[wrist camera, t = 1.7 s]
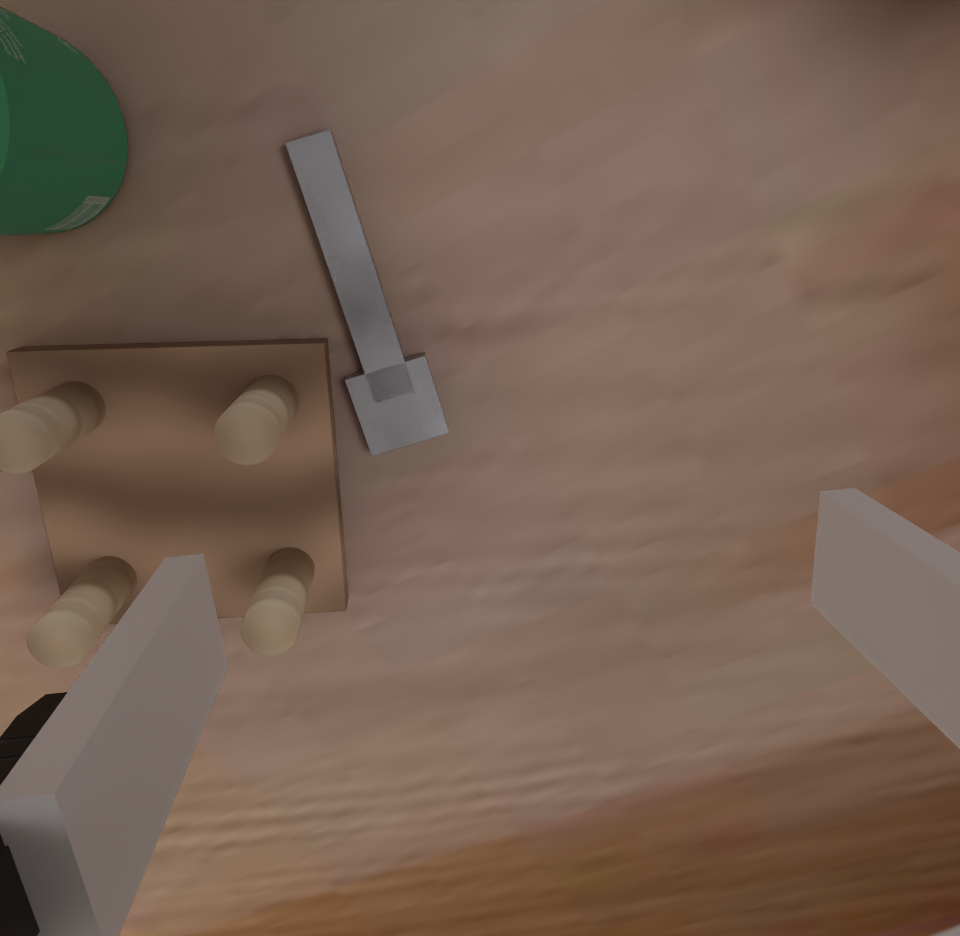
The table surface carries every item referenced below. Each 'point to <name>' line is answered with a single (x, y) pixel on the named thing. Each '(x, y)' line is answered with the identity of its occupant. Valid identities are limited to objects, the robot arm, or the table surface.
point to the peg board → (181, 480)
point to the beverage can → (54, 133)
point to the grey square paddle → (365, 308)
